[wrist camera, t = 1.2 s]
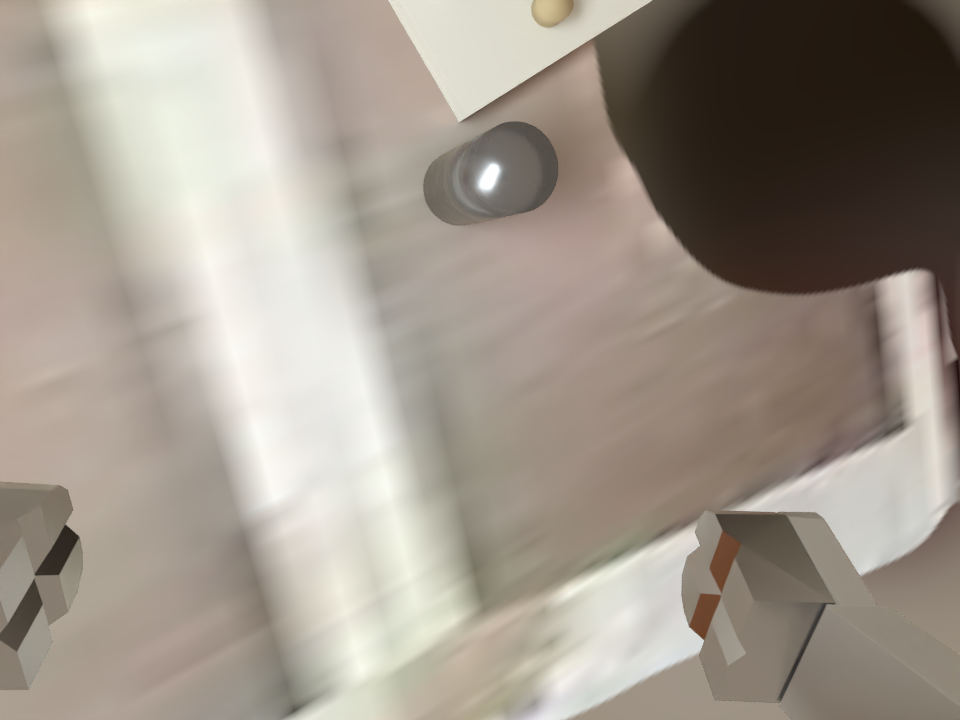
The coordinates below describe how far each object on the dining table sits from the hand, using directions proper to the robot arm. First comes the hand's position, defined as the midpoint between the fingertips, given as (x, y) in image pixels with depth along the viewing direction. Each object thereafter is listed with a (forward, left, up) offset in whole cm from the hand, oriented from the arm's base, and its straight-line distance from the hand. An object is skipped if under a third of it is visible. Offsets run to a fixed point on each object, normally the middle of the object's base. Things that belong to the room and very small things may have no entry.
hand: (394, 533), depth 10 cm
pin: (-1, +14, -32) cm, 35 cm away
